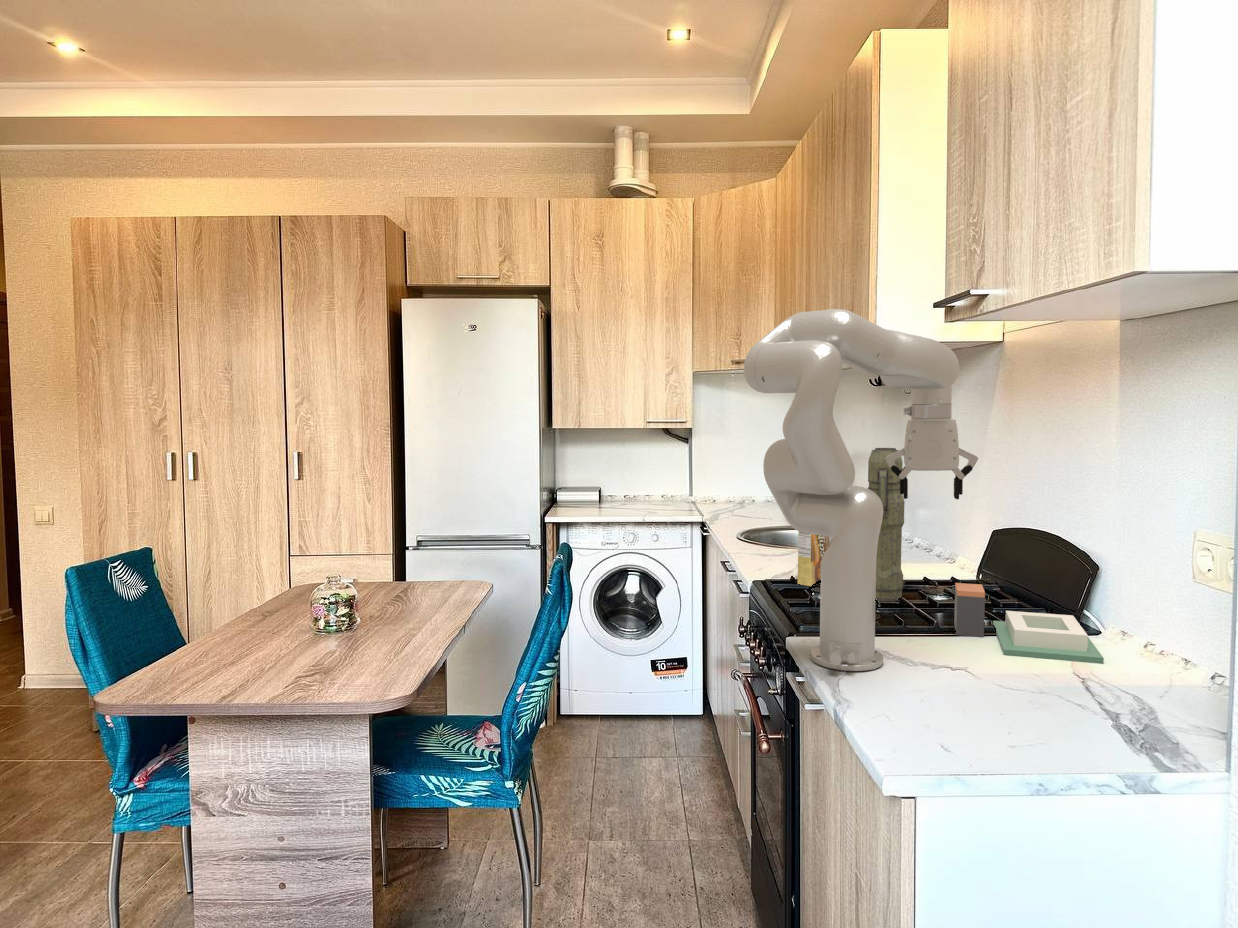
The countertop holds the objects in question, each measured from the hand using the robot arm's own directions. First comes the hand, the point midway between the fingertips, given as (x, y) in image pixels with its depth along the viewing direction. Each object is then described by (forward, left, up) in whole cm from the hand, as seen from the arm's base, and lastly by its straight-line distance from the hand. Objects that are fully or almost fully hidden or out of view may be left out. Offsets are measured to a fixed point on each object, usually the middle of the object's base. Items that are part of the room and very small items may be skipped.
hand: (930, 498), depth 165 cm
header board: (-4, -21, -27) cm, 34 cm away
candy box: (+34, +26, -27) cm, 51 cm away
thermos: (+24, +9, -27) cm, 37 cm away
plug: (0, -8, -27) cm, 28 cm away
